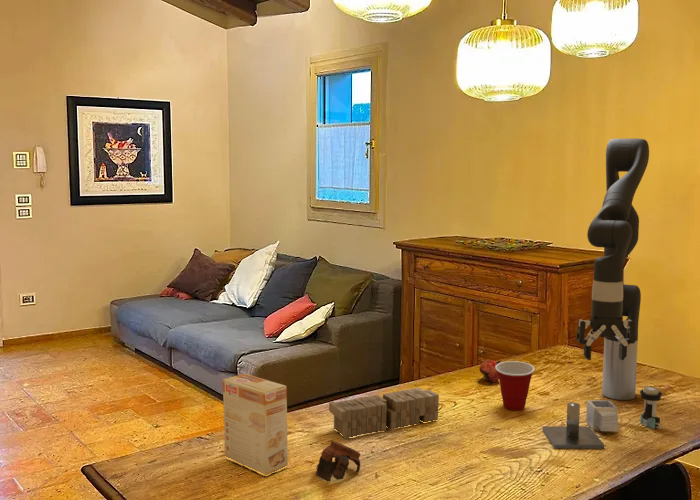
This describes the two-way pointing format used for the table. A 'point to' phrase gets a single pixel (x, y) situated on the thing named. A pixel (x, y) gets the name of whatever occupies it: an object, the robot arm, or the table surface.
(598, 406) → the grey hollow block
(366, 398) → the block tower
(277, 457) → the coffeecake box
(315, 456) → the table surface
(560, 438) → the gray square plate
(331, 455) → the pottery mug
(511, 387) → the plastic cup
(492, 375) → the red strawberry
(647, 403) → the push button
